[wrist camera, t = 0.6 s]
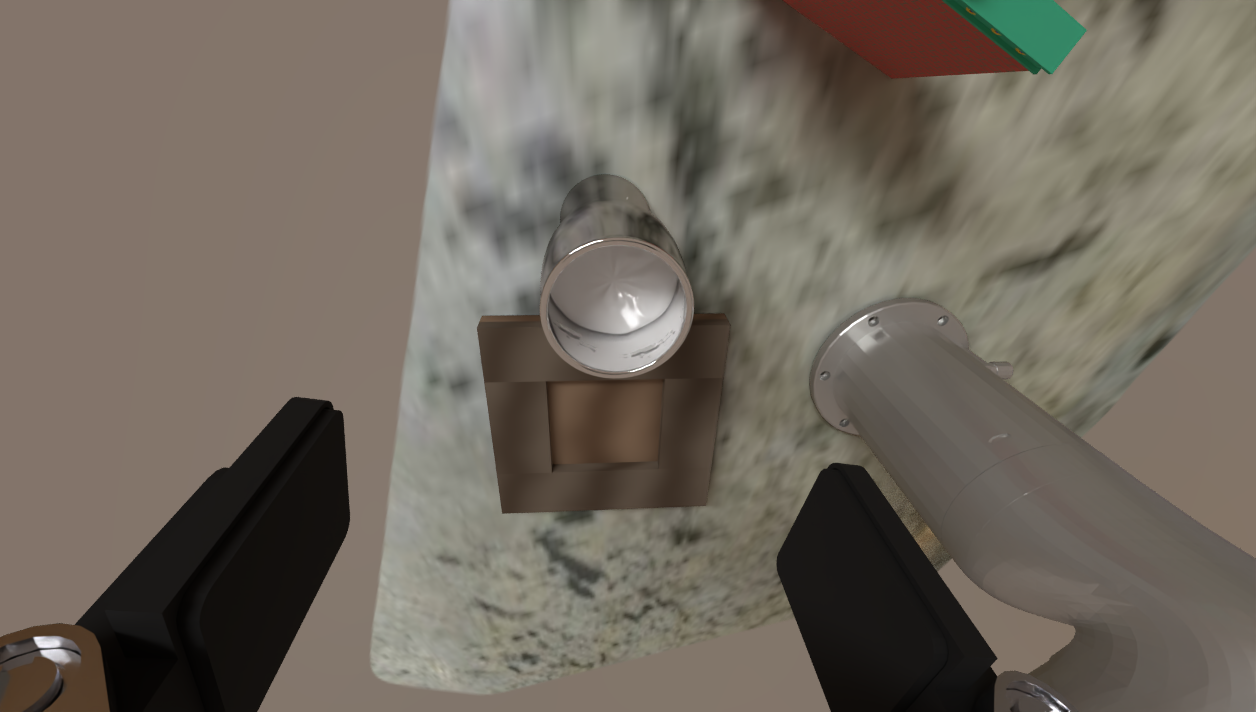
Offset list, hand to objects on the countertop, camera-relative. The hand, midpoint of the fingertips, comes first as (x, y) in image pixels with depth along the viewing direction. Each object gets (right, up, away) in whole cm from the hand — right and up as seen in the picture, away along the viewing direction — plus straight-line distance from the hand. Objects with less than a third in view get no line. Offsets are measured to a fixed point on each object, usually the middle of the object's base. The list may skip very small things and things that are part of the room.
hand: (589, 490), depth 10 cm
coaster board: (-1, -2, +32) cm, 32 cm away
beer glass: (-1, +12, +25) cm, 27 cm away
